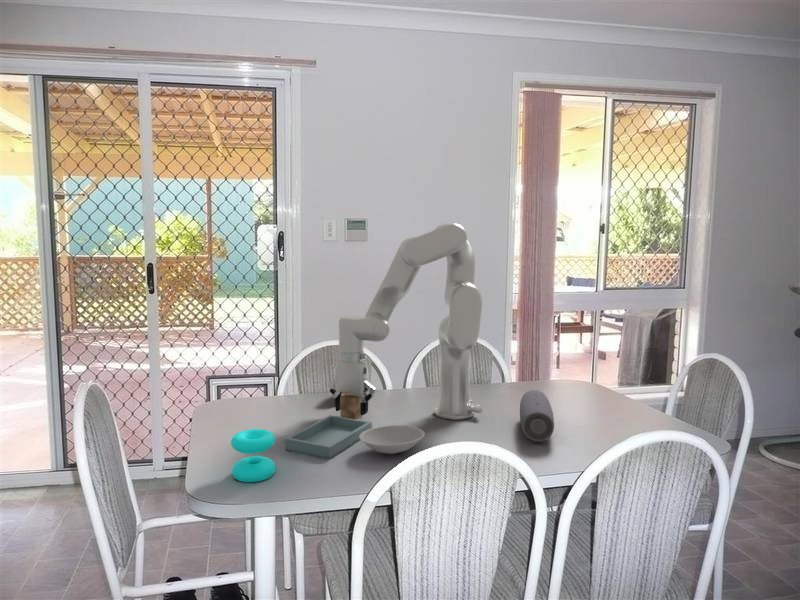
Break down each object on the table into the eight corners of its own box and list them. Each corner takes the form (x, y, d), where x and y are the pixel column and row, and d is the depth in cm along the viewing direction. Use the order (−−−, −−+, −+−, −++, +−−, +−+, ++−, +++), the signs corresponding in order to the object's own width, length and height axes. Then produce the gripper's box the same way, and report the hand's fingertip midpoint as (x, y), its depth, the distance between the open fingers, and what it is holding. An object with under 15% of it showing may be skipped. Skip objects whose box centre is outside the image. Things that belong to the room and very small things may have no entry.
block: (362, 417, 181) (362, 395, 180) (354, 421, 177) (354, 399, 176) (348, 414, 183) (348, 393, 182) (340, 419, 179) (340, 397, 178)
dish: (372, 469, 141) (372, 449, 141) (350, 449, 154) (350, 431, 153) (435, 456, 149) (435, 438, 149) (409, 439, 162) (409, 421, 161)
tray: (371, 432, 167) (371, 422, 166) (330, 459, 147) (330, 447, 147) (330, 425, 173) (330, 415, 172) (285, 450, 153) (284, 438, 153)
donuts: (282, 430, 139) (258, 444, 130) (283, 470, 140) (259, 487, 131) (247, 425, 143) (221, 438, 133) (248, 464, 144) (223, 480, 135)
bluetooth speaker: (555, 447, 156) (556, 411, 155) (520, 444, 158) (521, 409, 157) (549, 420, 178) (550, 388, 177) (518, 418, 180) (519, 387, 179)
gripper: (382, 357, 177) (381, 412, 179) (333, 351, 185) (333, 405, 187) (370, 362, 171) (370, 419, 173) (320, 356, 178) (320, 411, 180)
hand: (351, 411), depth 180 cm, fingers open, 8 cm apart
